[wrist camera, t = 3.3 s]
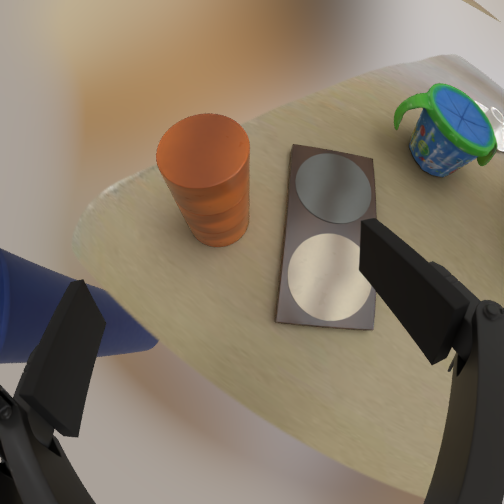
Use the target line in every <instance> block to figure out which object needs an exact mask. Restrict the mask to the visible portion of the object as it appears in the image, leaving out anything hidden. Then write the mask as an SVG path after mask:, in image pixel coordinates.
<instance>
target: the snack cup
mask: <svg viewBox="0 0 504 504" xmlns="http://www.w3.org/2000/svg"><path fill="white" fill-rule="evenodd" d="M415 108H423V110H422V113H421V115H420V118H419V120H418V122H417V124H416V127H415V129H414V131H413V133H412V136H411V139H410V145H409V148H410V150H411V152H412V155H413V157H414V159H415V160H416V162H417V163H418V164H419V165H420V167H421V169H423V170H424V171H426V172H428V173H430V174H431V175H434V176H440V177H444V176H447V175H449V174H451V173H453V172H455V171H456V170H458V169H460V168H461V167H463V166H464V165H466V164H467V163H469V162H471V161H473V160H474V159H476V158H477V161H478V164H479V165H480V166H484V165H486V164H487V163H488V162H489V161H490V160H491V159H492V157H493V156H494V154H495V153H496V151H497V147H498V146H497V141H496V137H495V134H494V131H493V128H492V125H491V123H490V121H489V119H488V118H487V116H486V115H485V113H484V112H483V111H482V109H481V108H480V107H479V106H478V105H477V104H476V103H475V102H474V101H473V100H472V99H471V98H470V97H469V96H468V95H466V94H465V93H464V92H462V91H461V90H459V89H457V88H455V87H453V86H450V85H447V84H442V83H439V84H435V85H433V86H432V87H431V88H430V89H429V91H428V92H427V93H420V94H416V95H414V96H411V97H409V98H408V99H406V100H405V101H404V102H402V103H401V104H400V105H399V107H398V108H397V109H396V111H395V115H394V126H395V129H396V130H398V127H399V124H400V122H401V120H402V118H403V115H404V113H405V112H406V111H408V110H410V109H415Z"/></svg>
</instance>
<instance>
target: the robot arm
mask: <svg viewBox="0 0 504 504" xmlns="http://www.w3.org/2000/svg"><path fill="white" fill-rule="evenodd" d="M359 271H360V272H361V273H362V275H363V276H364V277H365V278H366V279H367V281H368V282H369V283H370V284H371V286H372V287H373V288H374V289H375V291H376V292H377V293H378V294H379V295H380V297H381V298H382V299H383V301H384V302H385V303H386V304H387V306H388V307H389V308H390V309H391V311H392V312H393V313H394V315H395V316H396V317H397V318H398V320H399V321H400V322H401V324H402V325H403V326H404V328H405V329H406V330H407V332H408V333H409V334H410V336H411V337H412V338H413V340H414V341H415V342H416V344H417V345H418V346H419V348H420V349H421V351H422V352H423V353H424V355H425V356H426V358H427V359H428V360H429V362H430V363H431V365H434V364H436V363H438V362H440V361H441V360H443V359H445V358H447V356H448V354H449V352H450V350H451V348H452V347H453V349H454V350H455V351H456V354H455V356H454V358H453V360H452V362H451V364H450V366H449V369H448V372H450V371H451V369H452V367H453V376H452V385H451V393H450V400H449V407H448V413H447V419H446V424H445V429H444V434H443V439H442V443H441V448H440V452H439V456H438V460H437V463H436V467H435V471H434V474H433V477H432V481H431V484H430V487H429V490H428V493H427V496H426V499H425V501H424V504H502V500H503V496H504V308H502V307H501V305H499V304H498V303H496V302H494V301H491V300H483V301H480V300H479V299H478V298H477V297H476V296H475V295H474V294H473V293H472V292H470V291H469V290H468V289H467V288H466V287H465V286H464V285H463V284H462V283H461V282H460V281H458V279H457V278H455V277H454V276H453V275H451V273H450V272H449V271H448V270H447V269H445V268H444V267H443V266H441V265H439V264H437V263H435V262H433V261H432V262H427V261H426V260H425V259H424V258H423V257H422V256H421V255H419V254H418V253H417V252H416V251H415V250H414V249H412V248H411V247H410V246H409V245H408V244H406V243H405V242H404V241H403V240H402V239H400V238H399V237H398V236H397V235H396V234H394V233H393V232H392V231H391V230H389V229H388V228H387V227H386V226H384V225H383V224H382V223H381V222H379V221H378V220H377V219H376V218H371V219H366V220H361V232H360V257H359ZM105 326H106V322H105V320H104V318H103V316H102V314H101V313H100V311H99V309H98V307H97V305H96V303H95V301H94V300H93V298H92V296H91V294H90V292H89V290H88V288H87V286H86V284H85V282H84V280H78V281H74V282H71V283H70V285H69V286H68V288H67V290H66V292H65V293H64V295H63V297H62V299H61V301H60V303H59V305H58V306H57V308H56V310H55V312H54V314H53V316H52V318H51V320H50V322H49V324H48V326H47V328H46V330H45V332H44V334H43V336H42V339H41V341H40V343H39V345H37V347H36V348H35V349H34V350H33V352H32V353H31V354H30V357H29V359H28V361H27V365H26V366H25V368H24V373H22V376H21V379H20V381H19V383H18V386H17V388H16V391H15V394H14V397H13V398H12V397H11V396H10V395H9V394H8V392H7V391H6V390H5V389H4V388H3V387H2V386H1V385H0V457H1V460H2V462H1V463H0V504H96V503H95V502H94V501H93V499H92V498H91V496H90V495H89V493H88V492H87V490H86V488H85V487H84V485H83V484H82V482H81V481H80V479H79V477H78V476H77V474H76V472H75V471H74V469H73V467H72V466H71V464H70V462H69V460H68V458H67V456H66V454H65V453H64V451H63V449H62V447H61V445H60V443H59V441H58V439H57V438H56V437H55V436H54V435H53V433H54V429H56V430H57V431H58V432H59V433H60V434H62V435H63V436H68V437H78V436H79V429H80V425H81V420H82V414H83V410H84V405H85V400H86V396H87V392H88V387H89V383H90V379H91V375H92V371H93V367H94V364H95V360H96V356H97V353H98V349H99V346H100V342H101V339H102V336H103V332H104V329H105Z"/></svg>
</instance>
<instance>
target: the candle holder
mask: <svg viewBox="0 0 504 504" xmlns="http://www.w3.org/2000/svg"><path fill="white" fill-rule="evenodd" d="M474 102H475V103H476V104H477V105H478V106H479V107H480V108H481V109H482V111H483V112H484V113H485V115H486V116H487V118H488V119H489V121H490V123H491V125H492V128H493V131H494V134H495V137H496V141H497V146H498V147H497V149H498V150H500V151H503V152H504V127H503V126H504V117H503V115H502V114H501V113H500V111H499V110H497V109H496V108H495V107H490V108H489V109H488V108H486V107H485V106H484V105H482V104H480V103H479V102H476V101H474Z"/></svg>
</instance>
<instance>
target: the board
mask: <svg viewBox="0 0 504 504" xmlns="http://www.w3.org/2000/svg"><path fill="white" fill-rule="evenodd" d="M371 218H376V219H377V217H376V195H375V179H374V167H373V159H372V158H367V157H362V156H358V155H353V154H348V153H343V152H338V151H332V150H327V149H321V148H315V147H309V146H302V145H296V144H293V145H292V150H291V163H290V176H289V188H288V199H287V210H286V221H285V231H284V241H283V251H282V261H281V270H280V280H279V289H278V297H277V306H276V314H275V323H284V324H294V325H304V326H315V327H326V328H339V329H353V330H373V329H374V317H375V301H376V291H375V289H374V288H373V287H372V286H371V284H370V283H369V282H368V281H367V279H366V278H365V277H364V276H363V275H362V273H361V272H360V271H359V257H360V232H361V220H366V219H371Z"/></svg>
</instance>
